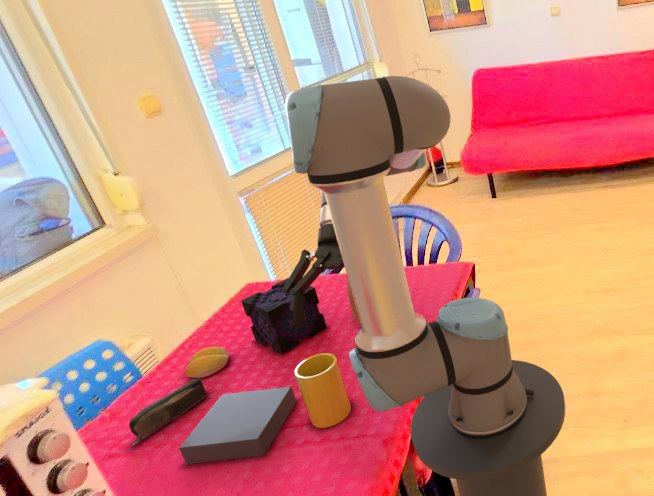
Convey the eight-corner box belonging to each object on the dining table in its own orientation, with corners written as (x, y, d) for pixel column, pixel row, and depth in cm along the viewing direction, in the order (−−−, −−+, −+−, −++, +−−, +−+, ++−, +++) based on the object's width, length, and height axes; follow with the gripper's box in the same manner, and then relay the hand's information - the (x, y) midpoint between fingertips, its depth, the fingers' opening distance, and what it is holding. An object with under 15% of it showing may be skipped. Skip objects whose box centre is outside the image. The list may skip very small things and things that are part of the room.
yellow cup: (355, 398, 108) (341, 351, 104) (343, 425, 101) (328, 375, 97) (319, 403, 108) (304, 355, 103) (305, 430, 101) (287, 380, 97)
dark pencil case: (194, 375, 112) (115, 424, 99) (203, 377, 111) (125, 427, 98) (201, 394, 114) (125, 444, 101) (211, 396, 113) (135, 448, 100)
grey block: (296, 401, 109) (291, 386, 107) (264, 455, 96) (257, 438, 94) (228, 409, 108) (221, 394, 107) (186, 464, 95) (178, 448, 94)
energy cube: (282, 354, 125) (267, 312, 120) (255, 341, 131) (240, 300, 127) (327, 328, 134) (314, 287, 130) (300, 317, 140) (287, 278, 136)
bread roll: (184, 384, 117) (177, 370, 116) (194, 361, 125) (188, 348, 124) (225, 373, 120) (220, 358, 118) (233, 351, 128) (228, 337, 126)
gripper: (398, 228, 121) (396, 319, 112) (289, 239, 120) (278, 332, 111) (388, 216, 114) (384, 312, 105) (271, 227, 113) (258, 325, 104)
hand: (330, 323), depth 108 cm, fingers open, 13 cm apart
